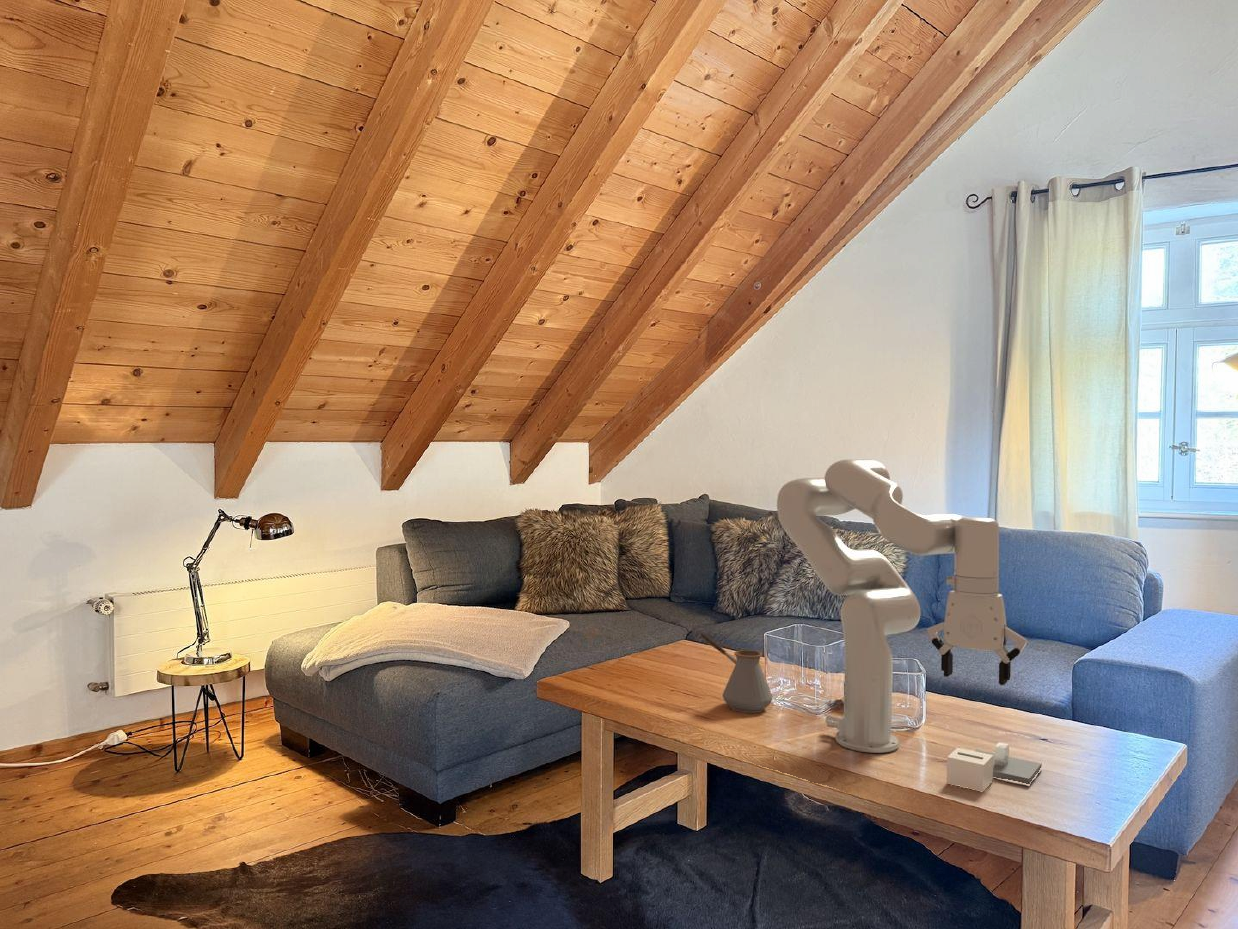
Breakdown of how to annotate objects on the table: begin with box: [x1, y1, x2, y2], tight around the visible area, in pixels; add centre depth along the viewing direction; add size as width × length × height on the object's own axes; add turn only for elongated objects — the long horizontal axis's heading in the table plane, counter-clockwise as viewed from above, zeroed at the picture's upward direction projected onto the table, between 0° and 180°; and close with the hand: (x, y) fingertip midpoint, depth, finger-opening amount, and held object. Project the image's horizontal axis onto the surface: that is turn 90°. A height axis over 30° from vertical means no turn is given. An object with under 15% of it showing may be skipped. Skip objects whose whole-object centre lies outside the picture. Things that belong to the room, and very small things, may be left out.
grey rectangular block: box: [994, 741, 1010, 767], centre depth 170 cm, size 2×3×4 cm, turn 143°
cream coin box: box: [945, 747, 994, 792], centre depth 164 cm, size 6×6×5 cm
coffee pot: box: [697, 632, 773, 714], centre depth 212 cm, size 21×12×15 cm, turn 41°
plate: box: [974, 749, 1043, 784], centre depth 170 cm, size 12×10×2 cm
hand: (975, 679), depth 163 cm, fingers open, 9 cm apart
